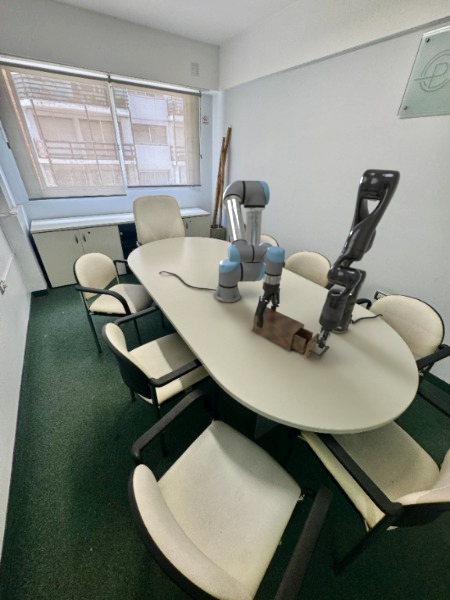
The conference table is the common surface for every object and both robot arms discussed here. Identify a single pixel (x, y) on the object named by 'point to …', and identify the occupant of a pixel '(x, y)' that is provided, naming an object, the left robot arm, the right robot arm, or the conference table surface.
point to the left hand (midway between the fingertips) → (265, 321)
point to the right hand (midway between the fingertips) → (320, 347)
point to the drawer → (306, 343)
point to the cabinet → (278, 328)
